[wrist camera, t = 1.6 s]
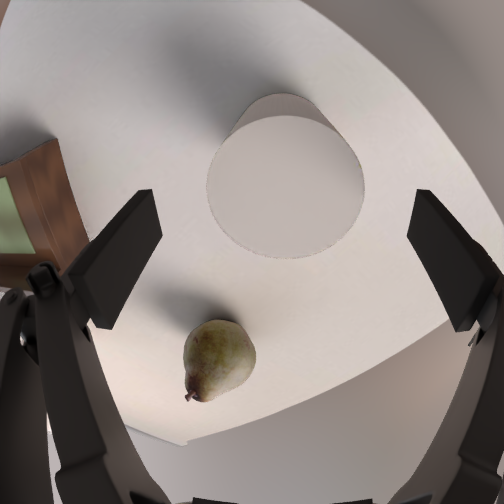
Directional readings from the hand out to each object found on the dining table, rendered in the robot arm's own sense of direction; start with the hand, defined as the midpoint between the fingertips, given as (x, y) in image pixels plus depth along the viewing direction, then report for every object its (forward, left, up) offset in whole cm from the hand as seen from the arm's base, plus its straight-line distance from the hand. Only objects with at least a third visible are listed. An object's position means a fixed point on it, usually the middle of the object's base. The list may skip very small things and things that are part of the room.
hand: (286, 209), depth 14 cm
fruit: (+26, -8, -14) cm, 30 cm away
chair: (+4, -32, -13) cm, 35 cm away
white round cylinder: (0, 0, -13) cm, 13 cm away
